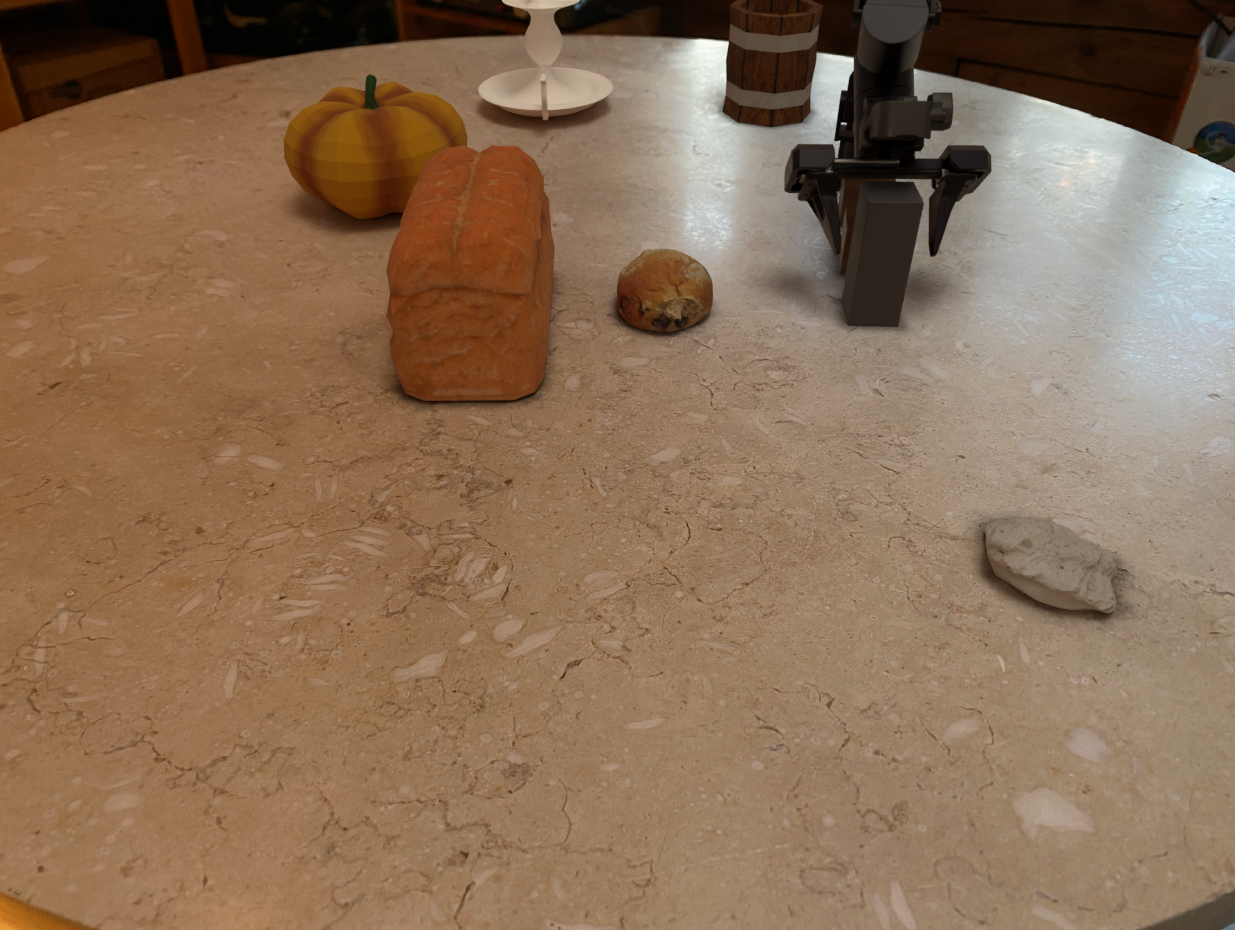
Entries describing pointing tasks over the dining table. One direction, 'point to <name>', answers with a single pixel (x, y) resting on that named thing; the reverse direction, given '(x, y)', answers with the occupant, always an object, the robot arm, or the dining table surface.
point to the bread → (472, 278)
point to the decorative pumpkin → (369, 145)
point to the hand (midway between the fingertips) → (885, 255)
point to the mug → (771, 61)
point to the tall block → (881, 252)
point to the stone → (1051, 564)
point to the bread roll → (664, 291)
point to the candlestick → (544, 71)
